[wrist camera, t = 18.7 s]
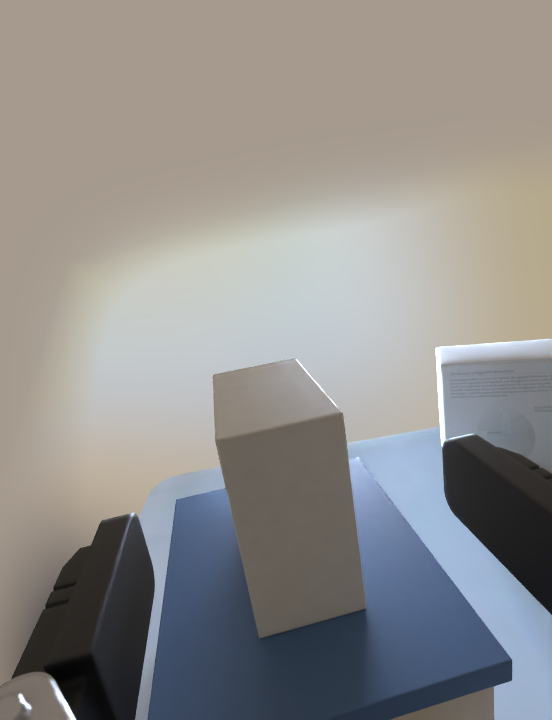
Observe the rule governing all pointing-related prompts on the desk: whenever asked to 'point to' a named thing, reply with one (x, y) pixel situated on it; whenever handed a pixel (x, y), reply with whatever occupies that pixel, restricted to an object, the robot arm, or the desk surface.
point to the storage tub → (320, 631)
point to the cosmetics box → (499, 395)
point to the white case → (289, 495)
